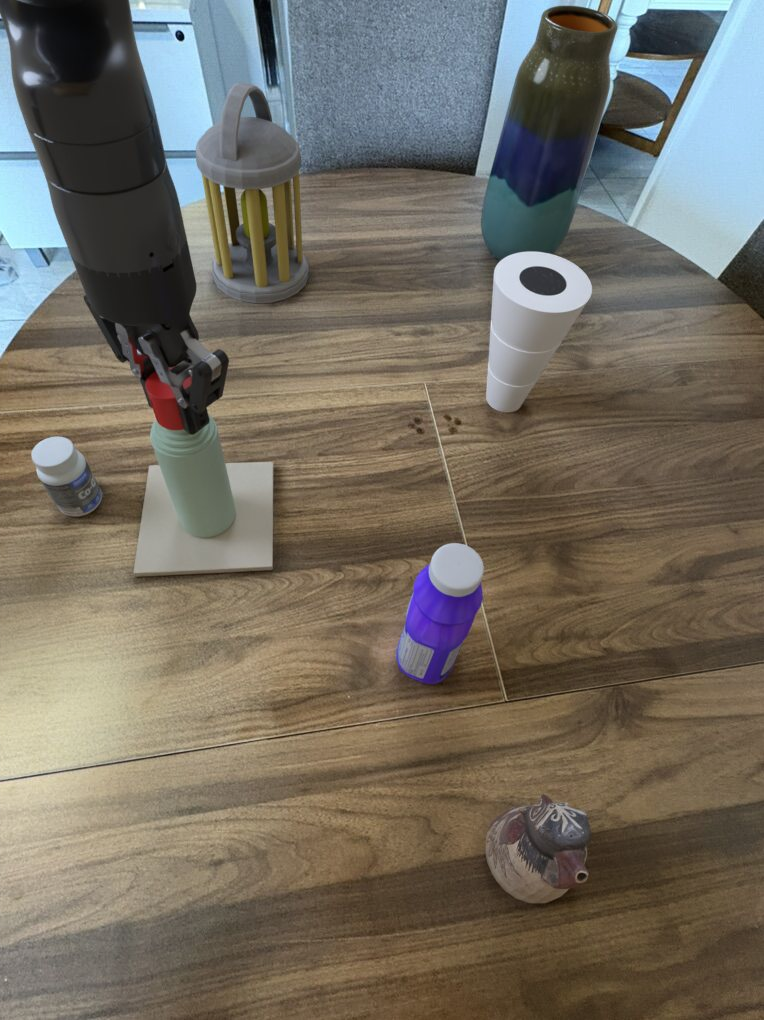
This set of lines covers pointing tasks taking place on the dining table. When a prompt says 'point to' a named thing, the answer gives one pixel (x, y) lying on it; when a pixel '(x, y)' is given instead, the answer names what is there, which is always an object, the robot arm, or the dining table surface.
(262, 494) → the coaster
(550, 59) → the vase
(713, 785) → the dining table surface
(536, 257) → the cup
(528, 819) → the figurine
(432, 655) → the bottle
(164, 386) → the cap
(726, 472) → the dining table surface
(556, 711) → the dining table surface
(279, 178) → the lantern
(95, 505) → the pill bottle
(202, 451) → the water bottle
